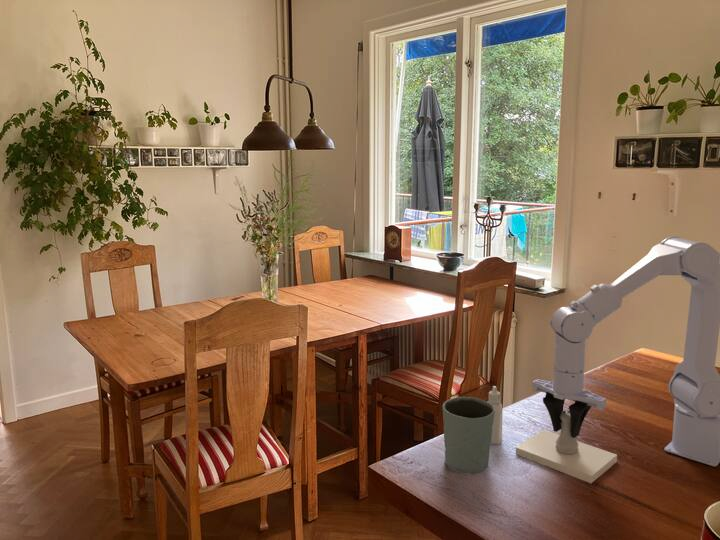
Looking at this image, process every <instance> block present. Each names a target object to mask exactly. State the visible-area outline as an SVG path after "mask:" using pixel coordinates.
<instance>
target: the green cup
mask: <svg viewBox="0 0 720 540" xmlns="http://www.w3.org/2000/svg"><path fill="white" fill-rule="evenodd" d="M494 413H495V409H494V407H493V405H492V404H490V403H489V401H486V400H483V399H480V398H477V397H472V396H471V397H469V396H459V397H458V396H457V397H453V398H449V399H447V400H446V401H444V402H443V403H442V417H443V418H442V419H443V420H442V421H443V439H444V440H443V443H444V448H445V449H444V458H445V464H446V466H447V465H448V466H449V467H450V468H449V467H448V466H447V467H448V468H449V469H450V470H452V469H453V470H452V471H454V470H455V472H457V471H458V473H460V472H461V474H468V473H471V474H477V473H481V472H483V471H485V470H486V469H488V467H489V462H490V451H491V446H492V444H490V443H491V437H492V425H493V420H494Z"/></svg>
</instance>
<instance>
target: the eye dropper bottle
mask: <svg viewBox="0 0 720 540" xmlns="http://www.w3.org/2000/svg"><path fill="white" fill-rule="evenodd" d="M488 402H489V403H490V404H492V405H493V407H494V409H495V413H494V420H493V425H492V437H491V443H490V445H500V443H502V441H503V405H502V403H501V393H500V391H498V388H497V386H496V385H493V386H492V389H491V390H489V392H488Z"/></svg>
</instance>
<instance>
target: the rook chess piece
mask: <svg viewBox="0 0 720 540" xmlns="http://www.w3.org/2000/svg"><path fill="white" fill-rule="evenodd" d="M560 418H561V420H562V422H561V429H560V433H559V435H560V436H559V437H558V439H557V440H556V446H555V447H556V449H557V450H558V451H559V452H560V453H563V454H568V455H572V454H575V453H576V452H577V451H578V442H579V441H578V440H577V437H575V438H573V437H571V416H570V411H569V410H567V411H566V410H564V409H563V412H562V414H561V415H560ZM577 441H578V442H577Z"/></svg>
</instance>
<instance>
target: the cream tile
mask: <svg viewBox="0 0 720 540" xmlns="http://www.w3.org/2000/svg"><path fill="white" fill-rule="evenodd" d="M559 436H560V434H557V433H555V432H552V431H549V430H546V429H542V430H540V431H539V432H538V433H536V434H534V435H533V436H531V437H529V438H528V439H527V440H525V441H523V442H522V443H520V444H518V445H517V446H516V447H515V455H518V456H520V457H522V458H524V459H528V460H530V461H532V462H535V463H538V464H540V465H543V466H545V467H547V468H551V469H552V470H556V471H558V472H561V473H563V474H566V475H568V476H571V477H573V478H575V479H579V480H581V481H583V482H587V483H589V484H593V483H594V482H595V481H596V480H597V479H598V478H600V477H601V476H602V475H603V474H604V473H605V472H606V471H608V470H609V469H610V468H612V467H613V466H614V465H615V464H616V463H617V462H618V454H617V453H613V452H610V451H607V450H604V449H601V448H599V447H595V446H593V445H590V444H587V443H584V442H580V441H578V440H576V441H577V442H578V451H577V452H576V453H575V454H572V455H568V454H563V453H560V452H559V451H558V450H557V449H556V447H555V446H556V440H557V439H558V437H559Z"/></svg>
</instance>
